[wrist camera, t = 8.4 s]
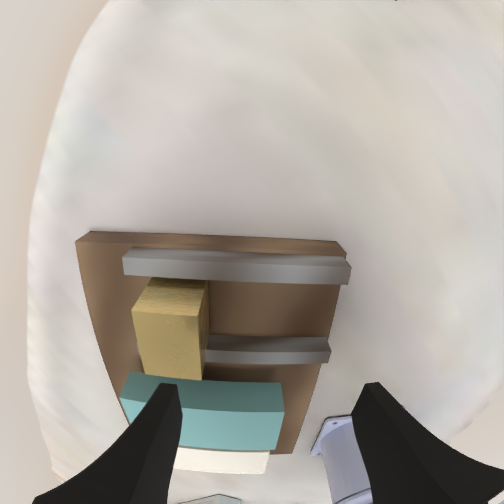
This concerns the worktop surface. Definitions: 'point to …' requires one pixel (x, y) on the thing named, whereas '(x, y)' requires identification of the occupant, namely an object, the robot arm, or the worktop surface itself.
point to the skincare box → (215, 500)
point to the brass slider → (173, 327)
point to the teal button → (216, 410)
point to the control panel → (224, 306)
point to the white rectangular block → (221, 460)
